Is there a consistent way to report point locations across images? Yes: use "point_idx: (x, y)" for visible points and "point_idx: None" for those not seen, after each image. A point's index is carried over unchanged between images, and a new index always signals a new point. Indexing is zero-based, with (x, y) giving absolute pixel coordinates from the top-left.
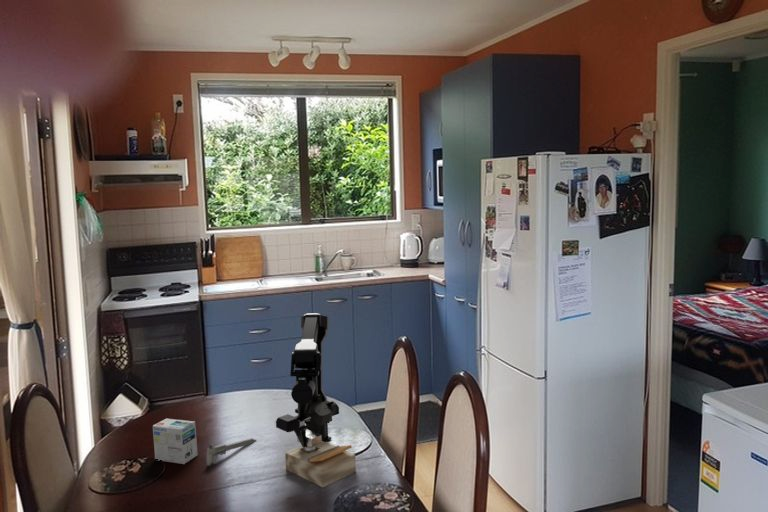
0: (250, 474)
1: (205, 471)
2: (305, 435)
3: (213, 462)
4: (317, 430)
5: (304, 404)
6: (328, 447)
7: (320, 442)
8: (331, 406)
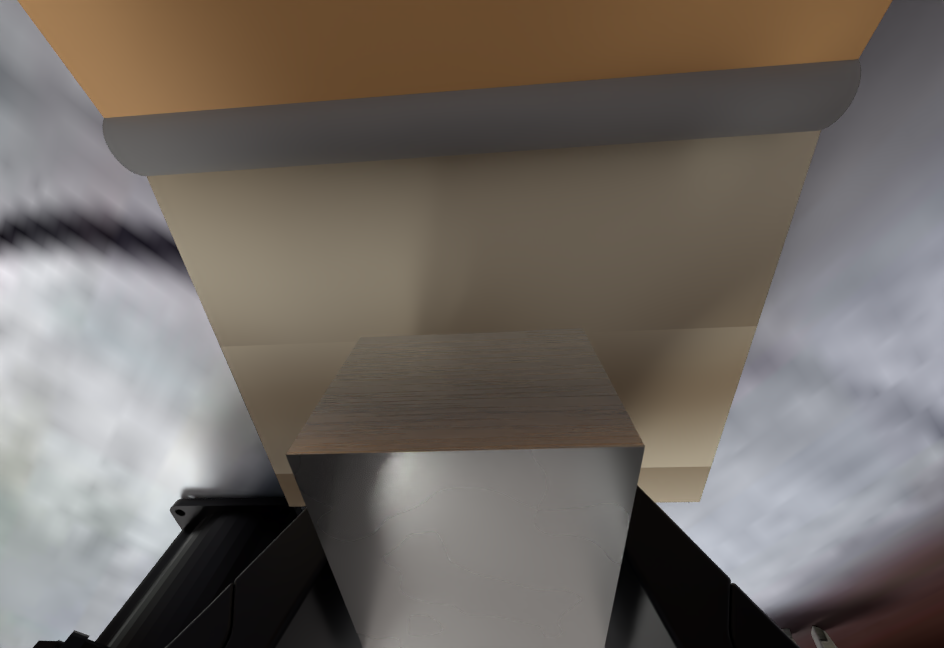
0: (807, 475)
1: (872, 609)
2: (684, 631)
3: (792, 639)
4: (280, 638)
5: None
6: (279, 298)
7: (379, 351)
8: None
